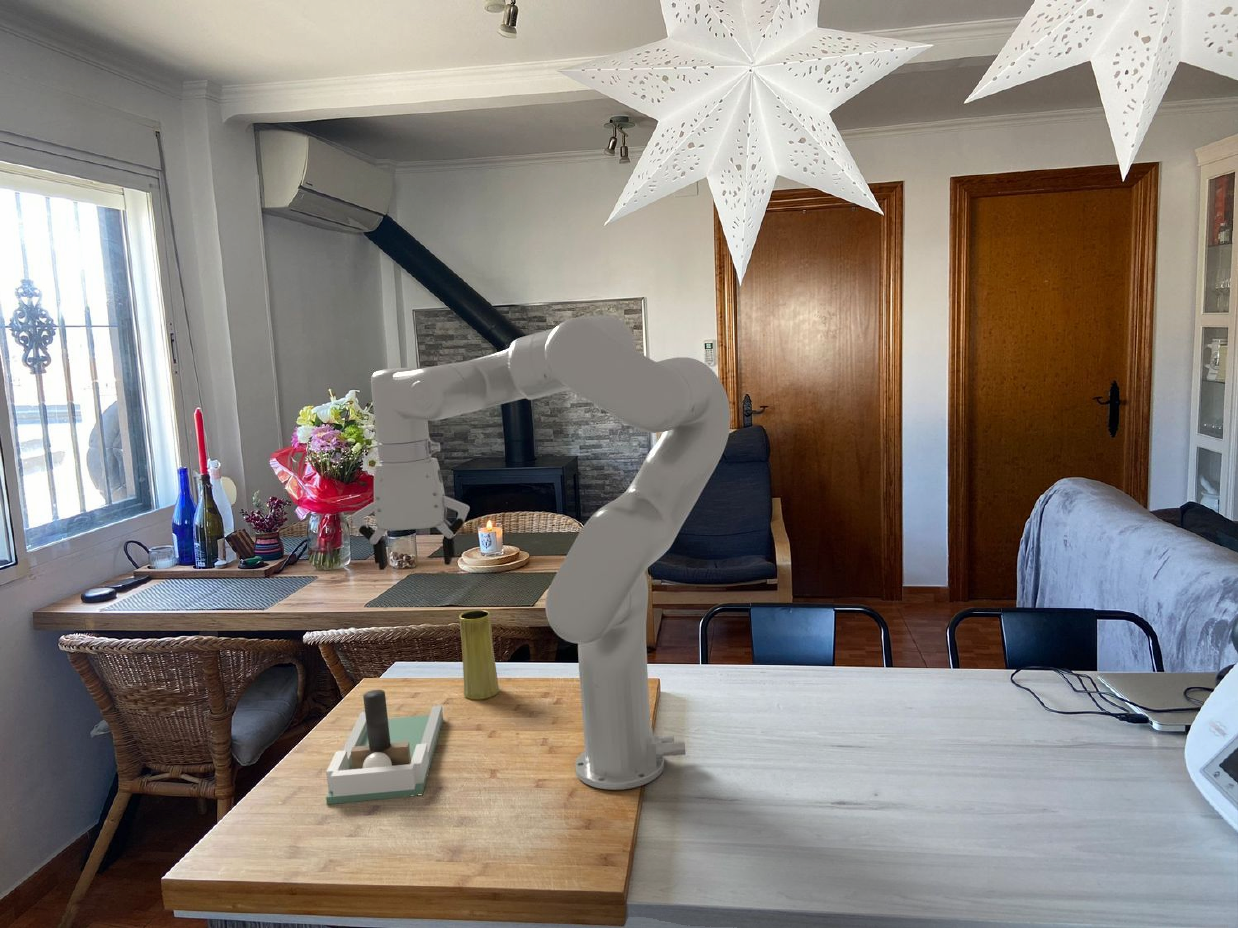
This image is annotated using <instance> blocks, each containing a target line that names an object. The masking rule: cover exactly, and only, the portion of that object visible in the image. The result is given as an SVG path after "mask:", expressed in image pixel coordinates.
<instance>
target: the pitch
mask: <svg viewBox="0 0 1238 928" xmlns="http://www.w3.org/2000/svg"><path fill="white" fill-rule="evenodd" d="M443 721H444V713H443V705H442V704H441V705H440V704H439V705H432V706H431V711H430V713H429V714H426V715H425V714H424V715H415V716H413V715H412V716H403V717H393V718H392V717H391V718H388V725H389V734H390V743H401V742H409V747H410V756H411V763H410V764H407V765H396V766H385V767H373V768H362V769H353V767H352V758H351V750H352V748H353V747H355V746H367V745H369V742H368V733H367V724H366V716H365V711H362V712H360V713H359V716H358V717H357V719H356V722H355V724H354V726H353V728H352V730H351V731H350V734H349V736H348V739H347V740H346V743H345V744H344V746H343V750H338V751H337V750H336V752H335V753H334V755H333V757H332V759H331V761H330V763H329V765H328V767H327V769H326V771H325V772H326V781H327V789H328V792H327V794H326V796H325V800H326V801H325V802H326V805H331V804H333V805H334V804H342V803H344V804H345V803H354V802H355V803H356V802H365V801H366V800H367V801H375V800H374V799H378V800H388V798H389V799H398V798H397V797H400V798H405V797H404V796H411V795H418V794H424V792H423V790H424V791H425V788H424V786H425V787H426V784H427V781H426V779H427V780H428V777H427V775H429V773H428V771H429V772H430V770H429V768H430V769H431V766H430V764H431V765H432V762H433V759H432V757H433V758H434V755H433V754H434V753H435V752H436V748H435V747H437V744H436V743H438V741H437V740H439V737H440V733H441V730H440V729H441V728H442V726H443V723H444V722H443ZM431 761H432V762H431ZM425 783H426V784H425ZM393 797H395V798H393ZM411 797H412V796H411ZM372 799H373V800H372ZM367 801H366V802H367Z"/></svg>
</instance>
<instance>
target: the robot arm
mask: <svg viewBox="0 0 1238 928" xmlns="http://www.w3.org/2000/svg"><path fill="white" fill-rule="evenodd" d="M636 348H637V346H636V338H635V336H634V333H633V332H632V330H631V328H630V327H629V326H628V325H627V324H626V322H624V321H622V320H621V319H619V318H617V317H616V316H612V315H607V314H603V315H602V314H599V315H598V314H597V315H587V316H578V317H577V316H576V317H573V318H569V319H566V320H564V321H562V322H561V323H559V324H558V325H556V327H554V328H550V329H547V330H543V331H541V332H535V333H533V334H529V335H525V336H522V337H519V338H516V339H515V340H513V341H512V342H511V343H510V345H509V348H507V349H504V350H501V351H498V352H495V353H491V354H488V355H483V356H481V357H477V358H474V359H469V360H464V361H461V362H452V363H447V364H445V363H444V364H440V365H433V366H428V367H422V368H416V367H395V368H385V369H380V370H376V371H375V372H373V374H372V375H371V378H370V389H371V390H370V391H371V399H372V408H373V416H374V417H373V418H374V425H375V436H376V437H375V438H376V447H377V452H378V454H377V455H378V462H376V463H375V465H374V473H373V502H371V503H370V504H367V505H366V506H365V507H363V508H361V509H359V510H357V511H356V512H354V513H353V514H352V515H351V517H350V519H351V521H352V523H353V524H354V525H355V527H356V528H357V530H358V532H359V533H360V534H361V535H362V536H363V537H364V538H366V539H367V540H368V541H369V542H370V544H371V545H372V546H373V547H372V548H373V556H374V563H375V564H378V569H379V571H384V570H385V569H386V568H387V566H388V564H389V563H388V553H387V543H386V540H385V539H384V535H385V533H386V531H387V532H389V531H390V532H392V531H404V530H405V531H406V530H417V529H429V528H430V529H431V528H436V529H437V530H438V531H439V532H440V533H441V534H443V538H442V549H443V550H442V551H443V560H444V565H447V566H448V565H449V566H450V565H451V563H452V560H453V558H456V549H455V546H456V545H455V537H454V535H456V534H457V533H458V531H459V530H460V529H461V528H462V527H463V525H464V523H465V520H466V518H467V516H468V513H469V512H470V506H469V505H468V504H466V503H464V502H461V501H459V500H456V499H454V498H451V497H449V496H446V494H445V489H444V482H443V476H442V473H441V468H440V464H439V462H438V458H436V457H432V455H433V454H435V453H436V452H441V443H440V442H435V441H433V440H431V437H430V431H429V422H428V421H431V422H432V421H433V422H434V421H440V420H444V419H449V418H452V417H456V416H460V415H465V414H468V413H469V414H470V413H474V412H477V411H480V410H485V409H488V408H491V407H496V406H500V405H503V404H506V403H512V402H515V401H518V400H519V401H520V400H523V399H527V400H528V401H531V400H536V399H540V398H543V397H547V396H552V395H556V394H560V393H564V392H566V391H570V390H571V391H572V392H574V393H576V394H577V395H579V396H580V397H582V398H584V399H585V400H587V401H588V402H590V403H592V404H593V405H595V406H596V407H598V408H600V409H601V410H603V411H604V412H606V413H609V414H610V415H612V416H613V417H615V418H616V419H618V420H620V421H621V422H622V423H625V424H626V425H628V426H629V427H631V428H634V429H636V430H639V431H642V432H645V433H650V434H659V433H661V434H660V436H659V438H658V440H657V441H656V442H655V444H654V445H653V446H652V448H651V449H650V450H649V452H648V454H647V455H646V458H644V461H643V463H642V465H641V466H640V469H639V470H638V472H637V473H636V475H635V477H634V478H633V480H632V482H631V483H630V484H629V487H628V488H627V489H626V491H624V493H622V494H621V495H620V496H618V497H617V498H616V499H614V500H612V501H610V502H608V503H606V504H605V505H603V506H602V507H600V508H599V509H597V511H595V512H594V513H593V514H592V515H591V516H590V518H589V519H588V520H587V521H586V523H584V525H583V527H582V528H581V530H580V531H579V533H578V534H577V536H576V538H575V540H574V542H573V544H572V545H571V547H570V549H569V550H568V553H567V555H566V556H565V558H564V560H563V561H562V563H561V565H560V567H559V568H558V570H557V572H556V573H555V575H554V577H553V579H552V581H551V583H550V585H549V587H548V591H547V593H546V598H545V615H546V618H547V621H548V624H549V626H550V628H551V629H552V630H553V631H554V633H555V634H556V635H557V636H558V637H559V638H561V639H563V640H564V641H566V642H569V643H571V644H572V643H573V644H578V645H577V654H578V657H577V658H578V673H579V686H580V687H579V690H580V700H581V701H580V703H581V715H582V716H581V717H582V725H583V726H582V728H583V729H582V730H583V739H584V740H583V741H584V744H583V745H584V751H582V753H580V754H579V755H578V757H577V758H576V759H575V763H574V766H575V769H574V770H575V774H576V777H578V779H579V780H581V782H583V783H584V784H586V785H588V786H590V787H593V788H597V789H601V790H602V789H603V790H609V791H610V790H611V791H617V790H618V791H619V790H627V789H634V788H638V787H641V786H644V785H646V784H649V783H650V782H652V781H654V780H656V779H657V778H658V777H659V776H660V775H661V773H663V771H664V768H665V759H664V758H665V757H667V756H668V757H669V756H672V757H673V756H674V757H676V756H677V757H678V756H685V755H686V744H685V741H684V740H679V741H678V740H676V741H675V736H674V735H666V736H659V737H658V735H657V734H656V735H654V730H653V727H652V726H651V725H652V724H651V708H650V692H649V678H648V677H649V675H648V654H647V653H648V652H647V613H648V604H649V603H648V601H649V599H648V598H649V585H648V578H647V575H646V570H647V569H649V567H650V566H652V565H653V564H654V563H655V562H656V561H658V560H659V559H661V557H662V556H664V555H665V553H667V551H669V550H670V548H671V547H672V545H673V543H674V542H675V539H676V538H677V536H678V534H679V532H680V530H681V528H682V526H683V525H684V523H685V521H686V519H687V518H688V516H689V515H690V513H691V511H692V509H693V508H694V506H695V504H696V503H697V501H698V499H699V497H700V496H701V494H702V492H703V490H704V488H705V487H706V484H707V483H708V481H709V479H710V478H711V476H712V474H714V472H715V470H716V467H717V466H718V464H719V461H720V460H721V458H722V455H723V453H724V451H725V448H726V445H727V443H728V438H729V436H730V435H729V434H730V430H731V406H730V401H729V399H728V395H727V392H726V390H725V387H724V386H723V384H722V381H721V380H720V378H719V377H718V375H717V374H716V373H715V372H714V370H713V369H712V368H711V367H709V366H708V365H707V364H706V363H704V362H703V361H700V360H699V359H696V358H692V357H681V356H680V357H671V358H667V359H664V360H663V359H662V360H659V361H655V360H653V359H652V358H650V357H648V356H646V355H645V354H643V353H641V352H639V351H638V350H637V349H636ZM447 508H448V509H451V510H453V511H454V512H457V517H456V519H455V520H453V522H452V523H450V522H449V521H448V520H447V519H446V518H447V515H448V512H447V510H448V509H447ZM373 513H374V521H375V524H376V525H375V526H376V527H377V529H374V528H372V527H371V526H370V525H369V524H367V522H366V519H365V518H367V517H369V515H371V514H373Z"/></svg>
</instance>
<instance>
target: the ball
mask: <svg viewBox="0 0 1238 928" xmlns="http://www.w3.org/2000/svg"><path fill="white" fill-rule="evenodd" d="M385 766H392V762H391V760H390V758H389V757H388V756H387V755H386V754H385V753H382V752H375V753H372V754H370V755H369V756H368V757H367V758H366V759H365V761H364V763H363V768H373V767H385Z"/></svg>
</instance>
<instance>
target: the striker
mask: <svg viewBox="0 0 1238 928" xmlns="http://www.w3.org/2000/svg"><path fill="white" fill-rule="evenodd" d="M362 696H363V705H364V712H365V716H366V724H367V733H368V742H369V745H367V746H355V747H353V748H352V750H351V758H352V767H353V769H362V768H363V763H364V761H365V759H366V758H367V757H368V756H369V755H370V754H372V753H375V752H382V753H385V754H386V755H387V756H388V757H389V758H390V760H391V762H392V766H396V765H407V764H410V763H411V756H410V747H409V742H401V743H390V734H389V725H388V719H389V718H388V717H389V716H388V708H387V699H386V698H387V697H386V692H385V690H382V689H373V690H372V689H371V690H369V691H366V692H365V693H363V694H362Z"/></svg>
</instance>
